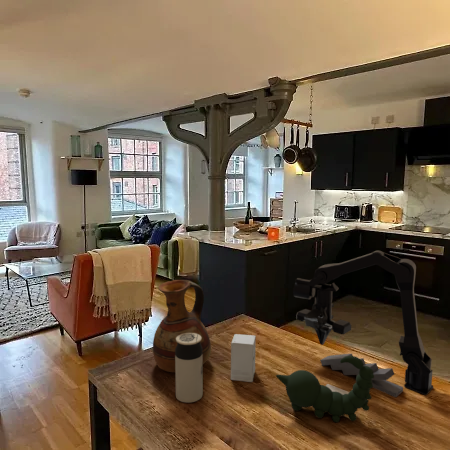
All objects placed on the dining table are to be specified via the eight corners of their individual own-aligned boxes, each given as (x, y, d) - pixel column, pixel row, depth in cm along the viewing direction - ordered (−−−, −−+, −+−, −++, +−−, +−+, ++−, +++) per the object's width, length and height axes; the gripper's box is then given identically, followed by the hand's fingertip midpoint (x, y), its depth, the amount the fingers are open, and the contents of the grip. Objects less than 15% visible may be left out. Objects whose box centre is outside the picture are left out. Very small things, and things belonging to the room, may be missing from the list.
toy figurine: (364, 416, 100) (275, 393, 107) (374, 353, 98) (282, 333, 105) (366, 439, 91) (269, 412, 98) (377, 370, 89) (277, 347, 96)
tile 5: (371, 379, 117) (402, 392, 110) (363, 385, 114) (395, 399, 106) (371, 374, 117) (403, 387, 110) (363, 379, 114) (396, 393, 106)
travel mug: (172, 402, 104) (171, 342, 102) (180, 386, 112) (179, 331, 110) (199, 405, 102) (198, 344, 100) (205, 389, 110) (205, 333, 108)
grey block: (366, 374, 118) (394, 374, 111) (358, 380, 115) (386, 380, 107) (364, 369, 118) (392, 368, 111) (356, 374, 115) (384, 373, 108)
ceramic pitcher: (142, 362, 127) (140, 279, 123) (188, 345, 140) (188, 270, 137) (174, 385, 112) (173, 292, 109) (222, 364, 126) (222, 280, 122)
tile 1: (330, 360, 128) (353, 358, 121) (321, 365, 125) (345, 363, 118) (328, 355, 129) (352, 353, 121) (320, 360, 125) (343, 358, 118)
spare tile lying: (359, 401, 105) (359, 396, 105) (352, 410, 101) (353, 404, 101) (327, 389, 111) (327, 383, 111) (319, 396, 108) (320, 390, 107)
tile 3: (352, 370, 122) (378, 368, 114) (343, 375, 119) (370, 374, 111) (350, 364, 122) (376, 363, 115) (342, 369, 119) (368, 368, 112)
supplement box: (253, 382, 114) (253, 344, 113) (230, 380, 116) (230, 342, 114) (255, 370, 121) (256, 335, 120) (234, 368, 123) (234, 333, 121)
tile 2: (340, 365, 125) (365, 363, 118) (332, 370, 122) (357, 368, 115) (338, 360, 125) (363, 358, 118) (330, 364, 122) (355, 363, 115)
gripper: (287, 300, 126) (286, 342, 128) (335, 314, 113) (333, 361, 115) (305, 293, 134) (304, 333, 136) (352, 306, 121) (351, 350, 122)
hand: (321, 344), depth 127 cm, fingers closed
